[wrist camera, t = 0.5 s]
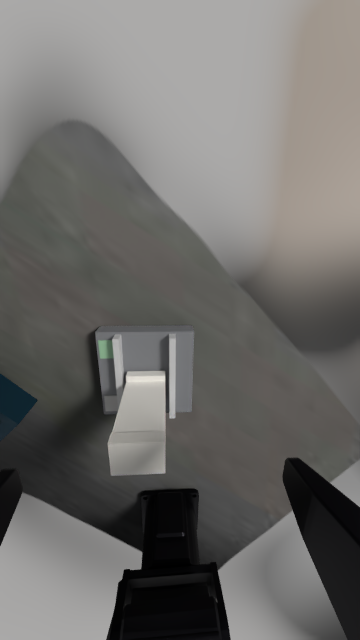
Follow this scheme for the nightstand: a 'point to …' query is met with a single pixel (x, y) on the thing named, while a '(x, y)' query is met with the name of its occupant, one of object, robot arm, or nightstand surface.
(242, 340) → the nightstand surface
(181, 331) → the breaker panel
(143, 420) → the handle
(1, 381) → the watch
